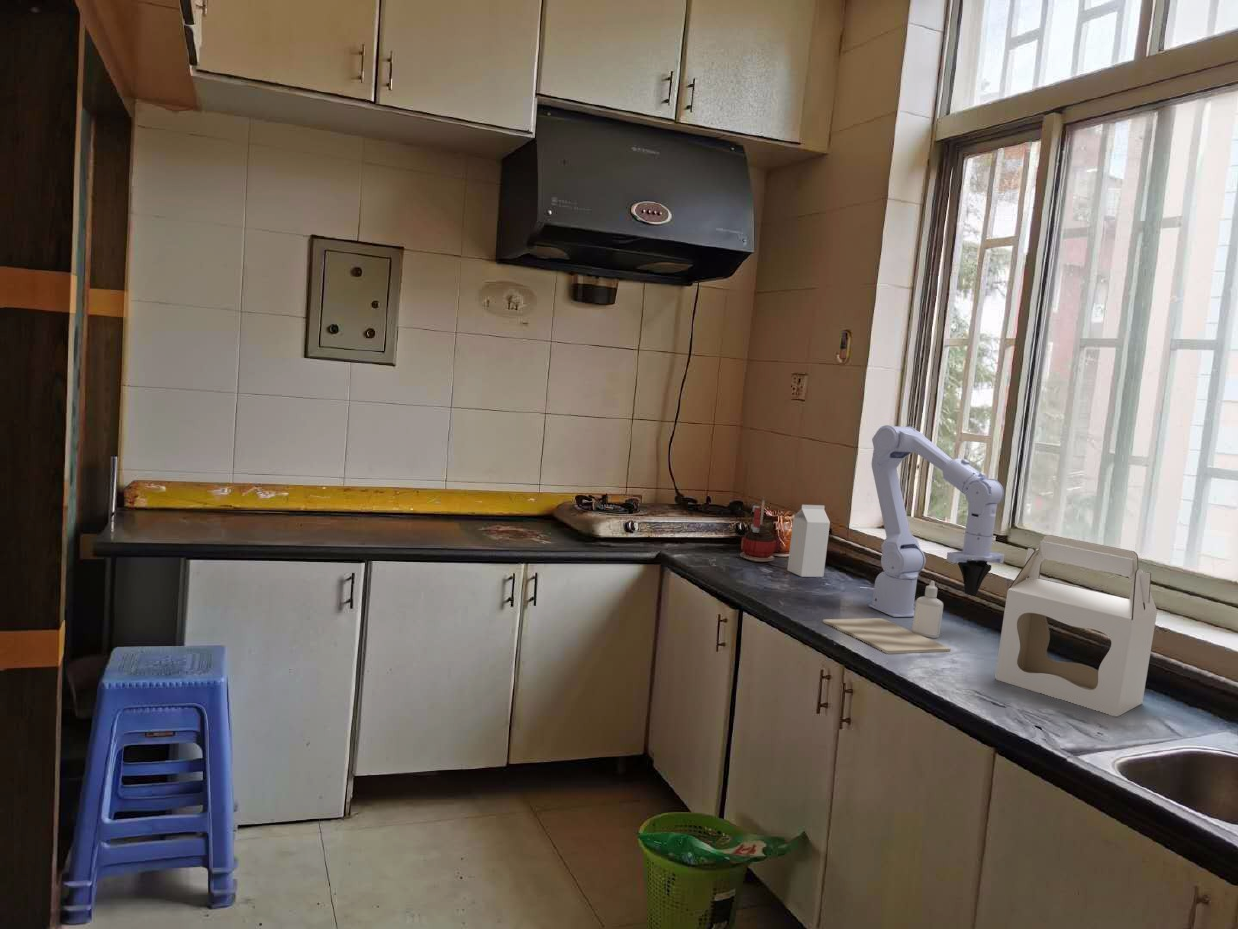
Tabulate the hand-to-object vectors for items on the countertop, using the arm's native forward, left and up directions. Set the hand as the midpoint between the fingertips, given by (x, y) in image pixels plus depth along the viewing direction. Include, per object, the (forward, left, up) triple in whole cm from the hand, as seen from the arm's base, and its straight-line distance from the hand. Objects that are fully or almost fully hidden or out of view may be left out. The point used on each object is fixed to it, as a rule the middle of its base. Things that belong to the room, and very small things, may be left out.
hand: (970, 594), depth 211 cm
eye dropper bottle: (0, -11, -9) cm, 14 cm away
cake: (-72, -10, -9) cm, 73 cm away
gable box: (+35, -8, -9) cm, 37 cm away
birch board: (0, -22, -9) cm, 24 cm away
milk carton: (-55, -5, -9) cm, 56 cm away
